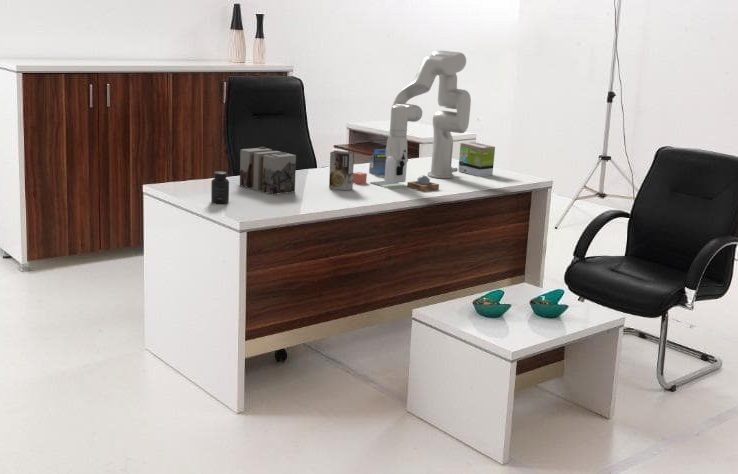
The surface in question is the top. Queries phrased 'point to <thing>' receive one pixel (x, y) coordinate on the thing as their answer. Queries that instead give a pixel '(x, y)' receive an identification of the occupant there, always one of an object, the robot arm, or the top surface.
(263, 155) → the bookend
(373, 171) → the blue retail box
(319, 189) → the top surface
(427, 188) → the frame
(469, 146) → the tea box
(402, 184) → the pad
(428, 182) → the dome
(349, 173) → the coffee box
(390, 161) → the photo printer
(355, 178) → the die
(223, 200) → the supplement bottle
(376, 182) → the pad
